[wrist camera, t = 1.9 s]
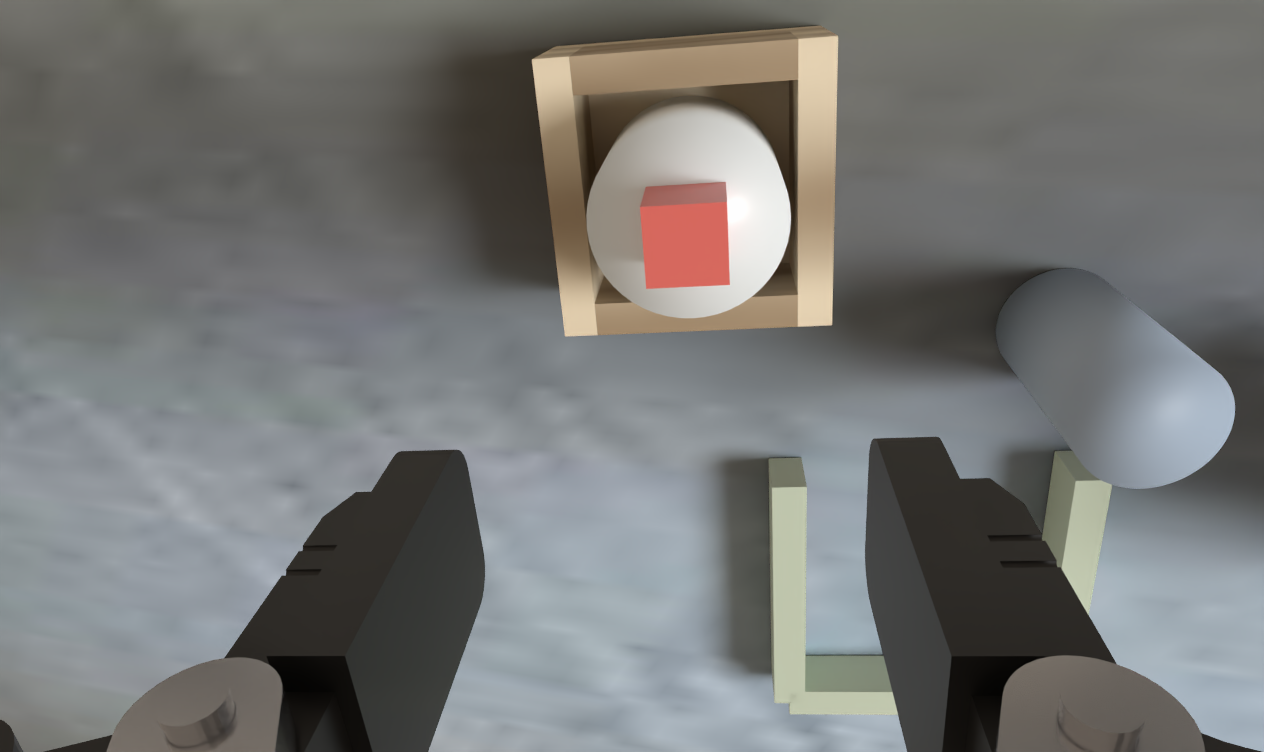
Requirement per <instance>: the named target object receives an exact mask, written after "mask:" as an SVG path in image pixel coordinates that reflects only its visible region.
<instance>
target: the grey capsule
mask: <svg viewBox="0 0 1264 752" xmlns="http://www.w3.org/2000/svg"><path fill="white" fill-rule="evenodd" d="M996 341H997V345H998V348H999V351H1000V353H1001V355H1002V356H1003V358H1004V359H1005V361H1006V362H1007V363H1008V365H1009V366H1010V367H1011V369H1012V370H1013V371H1014V373H1015V374H1016V375H1017V377H1018V378H1019V379H1020V381H1021V382H1022V384H1023V385H1024V386H1025V388H1026V389H1027V390H1028V392H1029V393H1030V394H1031V396H1032V397H1033V398H1034V400H1035V401H1036V402H1037V404H1038V405H1039V407H1040V408H1041V409H1042V411H1043V412H1044V413H1045V415H1046V416H1047V417H1048V419H1049V420H1050V421H1051V423H1052V424H1053V425H1054V427H1055V428H1056V429H1057V431H1058V432H1059V434H1060V435H1061V436H1062V438H1063V439H1064V440H1065V442H1066V443H1067V444H1068V446H1069V447H1070V448H1071V450H1072V451H1073V452H1074V454H1075V455H1076V456H1077V458H1078V459H1079V461H1080V462H1081V463H1082V465H1083V466H1084V467H1085V468H1086V469H1087V470H1088V471H1089V472H1090V473H1091V474H1092V475H1094V476H1095V477H1096V478H1098V479H1100V480H1102V481H1104V482H1106V483H1109V484H1111V485H1114V486H1118V487H1123V488H1131V489H1144V488H1153V487H1159V486H1163V485H1167V484H1170V483H1173V482H1176V481H1178V480H1181V479H1183V478H1185V477H1187V476H1189V475H1191V474H1192V473H1194V472H1195V471H1197V470H1199V469H1200V468H1201V467H1203V466H1204V465H1205V464H1206V463H1208V462H1209V461H1210V460H1211V459H1212V458H1213V457H1214V456H1215V455H1216V454H1217V452H1218V451H1219V450H1220V449H1221V448H1222V446H1223V444H1224V443H1225V441H1226V440H1227V438H1228V436H1229V434H1230V432H1231V429H1232V426H1233V423H1234V417H1235V402H1234V396H1233V393H1232V391H1231V388H1230V386H1229V385H1228V383H1227V381H1226V380H1225V379H1224V378H1223V376H1222V375H1221V374H1220V373H1219V372H1217V371H1216V370H1215V369H1214V368H1213V367H1211V366H1210V365H1209V364H1208V363H1207V362H1205V361H1204V360H1203V359H1202V358H1200V357H1199V356H1198V355H1197V354H1195V353H1194V352H1193V351H1192V350H1190V349H1189V348H1188V347H1187V346H1185V345H1184V344H1183V343H1182V342H1181V341H1179V340H1178V339H1177V338H1176V337H1174V336H1173V335H1172V334H1171V333H1169V332H1168V331H1167V330H1166V329H1164V328H1163V327H1162V326H1161V325H1159V324H1158V323H1157V322H1156V321H1155V320H1153V319H1152V318H1151V317H1150V316H1148V315H1147V314H1146V313H1145V312H1143V311H1142V310H1141V309H1140V308H1138V307H1137V306H1136V305H1135V304H1133V303H1132V302H1131V301H1130V300H1129V299H1127V298H1126V297H1125V296H1124V295H1122V294H1121V293H1120V292H1119V291H1117V290H1116V289H1115V288H1114V287H1112V286H1111V285H1110V284H1109V283H1107V282H1106V281H1105V280H1104V279H1102V278H1101V277H1099V276H1098V275H1096V274H1094V273H1091V272H1089V271H1085V270H1081V269H1072V268H1065V269H1056V270H1052V271H1048V272H1045V273H1042V274H1039V275H1037V276H1035V277H1033V278H1031V279H1030V280H1028V281H1026V282H1025V283H1024V284H1022V285H1021V286H1020V287H1018V288H1017V289H1016V290H1015V291H1014V292H1013V293H1012V294H1011V296H1010V297H1009V298H1008V299H1007V301H1006V302H1005V304H1004V305H1003V307H1002V309H1001V311H1000V313H999V317H998V320H997V325H996Z"/></svg>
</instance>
